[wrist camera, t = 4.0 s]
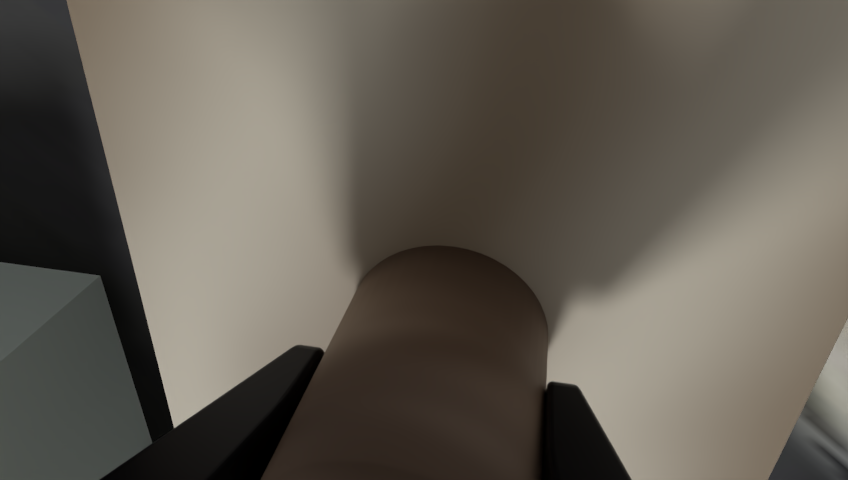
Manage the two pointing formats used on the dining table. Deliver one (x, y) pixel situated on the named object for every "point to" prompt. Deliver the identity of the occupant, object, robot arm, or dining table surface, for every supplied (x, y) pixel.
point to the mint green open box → (63, 379)
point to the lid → (486, 219)
